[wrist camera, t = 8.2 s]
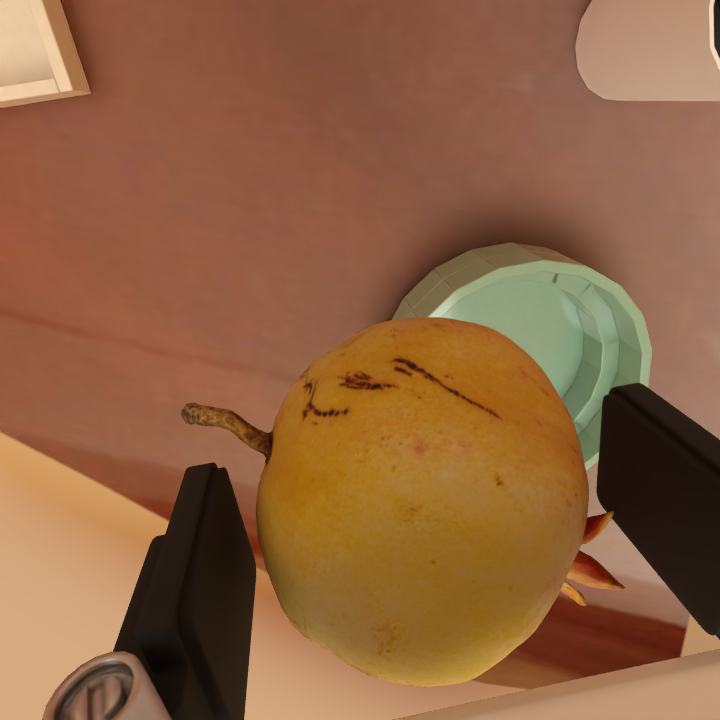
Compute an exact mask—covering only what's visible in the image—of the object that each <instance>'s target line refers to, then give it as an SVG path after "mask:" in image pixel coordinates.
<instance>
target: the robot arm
mask: <svg viewBox="0 0 720 720" xmlns="http://www.w3.org/2000/svg"><path fill="white" fill-rule="evenodd" d="M597 496H598V499H599V502H600V504H601V505H602V507H603V508H604V509H605V510H606V512H607V513H608V512H610V511H614V514H613V516H612V519H613V520H614V521H615V523H616V524H617V525H618V526H619V527H620V529H621V530H622V531H623V532H624V534H625V535H626V536H627V537H628V538H629V540H630V541H631V542H632V543H633V545H634V546H635V547H636V548H637V549H638V551H639V552H640V553H641V554H642V555H643V557H644V558H645V559H646V560H647V562H648V563H649V564H650V565H651V566H652V568H653V569H654V570H655V571H656V572H657V574H658V575H659V576H660V577H661V579H662V580H663V581H664V582H665V583H666V585H667V586H668V587H669V588H670V590H671V591H672V592H673V593H674V594H675V596H676V597H677V598H678V599H679V600H680V602H681V603H682V604H683V605H684V607H685V608H686V609H687V610H688V611H689V613H690V614H691V615H692V616H693V618H694V619H695V620H696V621H697V622H698V624H699V625H700V626H701V627H702V628H703V629H704V630H705V631H706V632H707V633H708V634H710V635H716V636H717V637H718V638H719V639H720V440H719V439H718V438H716V437H715V436H714V435H712V434H711V433H710V432H708V431H707V430H705V429H704V428H703V427H701V426H700V425H698V424H697V423H696V422H694V421H693V420H692V419H690V418H689V417H687V416H686V415H685V414H683V413H682V412H681V411H679V410H678V409H676V408H675V407H674V406H672V405H671V404H669V403H668V402H667V401H665V400H664V399H663V398H661V397H660V396H658V395H657V394H656V393H654V392H653V391H652V390H650V389H649V388H647V387H646V386H645V385H643V384H641V383H632V384H627V385H622V386H616V387H613V388H611V389H610V391H609V395H605V396H604V398H603V401H602V415H601V430H600V445H599V460H598V475H597ZM255 583H256V564H255V559H254V555H253V552H252V549H251V546H250V542H249V539H248V536H247V533H246V530H245V526H244V523H243V520H242V517H241V514H240V511H239V507H238V504H237V501H236V498H235V495H234V491H233V488H232V485H231V482H230V479H229V475H228V472H227V470H226V468H224V467H223V468H218V467H217V465H216V464H215V463H214V462H213V463H208V464H203V465H197V466H192V467H188V468H187V469H186V471H185V474H184V478H183V481H182V484H181V487H180V490H179V493H178V496H177V500H176V503H175V506H174V509H173V512H172V515H171V518H170V522H169V525H168V528H167V531H166V534H165V535H161V536H156V537H155V538H154V539H153V540H152V542H151V544H150V547H149V549H148V552H147V555H146V558H145V561H144V564H143V567H142V569H141V572H140V575H139V578H138V581H137V584H136V587H135V590H134V593H133V595H132V598H131V601H130V604H129V607H128V610H127V613H126V616H125V618H124V622H123V624H122V627H121V630H120V633H119V636H118V639H117V642H116V644H115V647H114V650H113V652H109V653H106V654H103V655H100V656H97V657H95V658H93V659H91V660H89V661H88V662H86V663H84V664H82V665H81V666H80V667H78V668H77V669H76V670H75V671H74V672H72V673H71V674H70V675H69V676H67V678H66V679H65V680H64V681H63V682H62V683H61V684H60V686H59V687H58V688H57V689H56V690H55V692H54V693H53V695H52V697H51V698H50V700H49V702H48V704H47V705H46V708H45V711H44V715H43V718H42V720H244V714H245V700H246V689H247V678H248V666H249V654H250V642H251V630H252V619H253V607H254V595H255ZM394 720H720V649H717V650H713V651H708V652H703V653H698V654H694V655H689V656H684V657H679V658H675V659H670V660H665V661H660V662H656V663H651V664H646V665H641V666H637V667H632V668H627V669H623V670H618V671H613V672H609V673H604V674H599V675H595V676H590V677H585V678H581V679H576V680H572V681H567V682H562V683H558V684H553V685H548V686H544V687H539V688H535V689H530V690H525V691H521V692H516V693H512V694H507V695H502V696H498V697H493V698H489V699H484V700H479V701H475V702H470V703H466V704H462V705H457V706H452V707H448V708H443V709H439V710H434V711H430V712H425V713H421V714H416V715H412V716H407V717H403V718H398V719H394Z"/></svg>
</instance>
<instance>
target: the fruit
mask: <svg viewBox="0 0 720 720" xmlns="http://www.w3.org/2000/svg"><path fill="white" fill-rule="evenodd" d="M181 416H182V418H183V419H184V420H185V422H186V424H187V425H188V424H194V423H195V424H198V425H201V426H214V427H221V428H225V429H228V430H230V431H231V432H232V433H234V434H235V435H236V436H237V437H238V438H239V439H240V440H242V441H243V442H244V443H246V444H247V445H248V446H250V447H251V448H252V449H254V450H256V451H258V452H260V453H262V454H264V455H265V457H266V460H265V463H266V465H265V467H264V470H263V472H262V474H261V478H260V482H259V487H258V496H257V504H256V520H257V533H258V538H259V543H260V547H261V551H262V554H263V558H264V561H265V565H266V568H267V571H268V574H269V577H270V580H271V582H272V585H273V588H274V590H275V593H276V595H277V598H278V600H279V602H280V605H281V607H282V609H283V611H284V612H285V614H286V615H287V617H288V618H289V620H290V622H291V623H292V625H293V626H294V627H295V628H296V629H297V630H298V631H299V632H300V633H301V634H302V635H303V636H305V637H307V638H308V639H310V640H311V641H313V642H315V643H317V644H318V645H320V646H322V647H323V648H325V649H327V650H328V651H330V652H331V653H333V654H334V655H336V656H337V657H338V658H340V659H341V660H343V661H344V662H345V663H347V664H348V665H350V666H352V667H354V668H356V669H357V670H359V671H361V672H363V673H365V674H367V675H370V676H373V677H376V678H380V679H383V680H387V681H391V682H397V683H401V684H406V685H412V686H424V687H427V686H442V685H450V684H458V683H462V682H465V681H469V680H471V679H474V678H475V677H477V676H479V675H480V674H482V673H484V672H485V671H487V670H488V669H490V668H491V667H492V666H494V665H495V664H497V663H498V662H500V661H501V660H502V659H504V658H505V657H506V656H507V655H508V654H509V653H510V652H511V651H512V650H514V649H515V648H516V647H517V646H519V645H520V644H521V643H523V642H524V641H525V640H526V639H527V638H529V637H530V636H531V635H532V634H533V633H534V632H535V631H536V629H537V628H538V626H539V625H540V623H541V622H542V620H543V619H544V617H545V616H546V614H547V613H548V611H549V609H550V608H551V606H552V604H553V603H554V601H555V599H556V598H557V596H558V594H559V593H560V591H561V592H563V593H564V594H566V595H567V596H568V597H570V598H572V599H573V600H575V601H576V602H577V603H578V604H579V605H582V606H586V605H587V603H586V601H585V599H584V597H583V595H582V594H581V593H580V592H579V591H577V590H576V589H575V588H574V587H573V586H572V585H570V584H569V583H567V582H565V579H566V578H569V579H572V580H575V581H577V582H579V583H581V584H583V585H586V586H590V587H595V588H603V589H624V588H625V587H624V586H623V585H622V584H620V583H619V582H618V581H617V580H616V579H615V578H614V577H613V576H612V575H611V574H610V573H609V572H608V571H607V570H606V569H605V568H604V567H603V566H602V565H601V564H600V563H598V562H597V561H596V560H595V559H594V558H592V557H591V556H589V555H587V554H585V553H583V552H581V551H580V550H579V548H580V546H581V545H582V544H586V543H587V542H589V541H591V540H593V539H594V538H595V537H597V536H598V535H599V534H600V532H601V531H602V530H603V529H604V528H605V527H606V526H607V524H608V523H609V521H610V520H611V518H612V516H613V514H614V511H610V512H608V513H605V514H602V515H597V516H592V517H588V518H587V512H588V502H589V487H588V480H587V474H586V469H585V464H584V458H583V454H582V450H581V445H580V442H579V439H578V435H577V432H576V429H575V426H574V422H573V420H572V418H571V415H570V413H569V411H568V409H567V407H566V405H565V404H564V402H563V401H562V399H561V398H560V396H559V394H558V393H557V391H556V390H555V388H554V386H553V385H552V383H551V381H550V380H549V378H548V376H547V375H546V374H545V372H544V371H543V369H542V368H541V367H540V366H539V365H538V364H537V362H536V361H535V360H534V359H533V358H532V357H531V356H530V355H529V354H527V353H526V352H525V351H524V350H523V349H522V348H521V347H519V346H518V345H517V344H516V343H514V342H513V341H512V340H511V339H510V338H508V337H506V336H505V335H503V334H501V333H499V332H498V331H496V330H494V329H491V328H489V327H486V326H483V325H480V324H476V323H471V322H466V321H461V320H456V319H449V318H442V317H415V318H406V319H397V320H391V321H384V322H381V323H377V324H374V325H372V326H369V327H367V328H365V329H364V330H362V331H360V332H359V333H358V334H356V335H355V336H354V337H352V338H351V339H349V340H348V341H347V342H345V343H343V344H342V345H340V346H338V347H337V348H335V349H333V350H331V351H330V352H328V353H326V354H325V355H323V356H321V357H320V358H318V359H317V360H315V361H314V362H313V363H312V364H311V365H310V366H309V367H308V368H307V369H306V370H305V371H304V372H303V374H302V375H301V376H300V377H299V378H298V380H297V381H296V382H295V384H294V385H293V386H292V388H291V389H290V391H289V392H288V394H287V395H286V397H285V399H284V401H283V403H282V405H281V407H280V409H279V411H278V414H277V416H276V418H275V422H274V427H273V430H272V431H271V432H270V433H265V432H263V431H261V430H258V429H257V428H255V427H253V426H252V425H250V424H249V423H247V422H246V421H245V420H244V419H243V418H241V417H240V416H239V415H237V414H236V413H234V412H233V411H230V410H226V409H221V408H215V407H210V406H202V405H198V404H196V403H189V404H186V406H185V407H184V408H183V409H182V411H181Z"/></svg>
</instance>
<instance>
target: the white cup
mask: <svg viewBox="0 0 720 720" xmlns="http://www.w3.org/2000/svg"><path fill="white" fill-rule="evenodd" d="M575 51H576V59H577V68H578V71H579V73H580V75H581V77H582V79H583V81H584V82H585V84H586V86H587V88H588V89H589V90H591V91H592V92H594V93H595V94H597V95H598V96H600V97H601V98H603V99H607V100H617V101H720V0H592V1H591V3H590V4H589V6H588V8H587V10H586V12H585V13H584V15H583V17H582V19H581V21H580V25H579V30H578V34H577V39H576V44H575Z"/></svg>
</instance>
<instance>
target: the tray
mask: <svg viewBox="0 0 720 720" xmlns="http://www.w3.org/2000/svg"><path fill="white" fill-rule="evenodd" d="M86 94H91V91H90V88H89V85H88V82H87V79H86V76H85V73H84V70H83V67H82V64H81V61H80V58H79V55H78V52H77V49H76V46H75V43H74V40H73V37H72V34H71V31H70V28H69V25H68V22H67V19H66V16H65V13H64V10H63V7H62V4H61V1H60V0H0V108H4V107H10V106H17V105H23V104H29V103H36V102H42V101H48V100H54V99H61V98H67V97H73V96H79V95H86Z"/></svg>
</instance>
